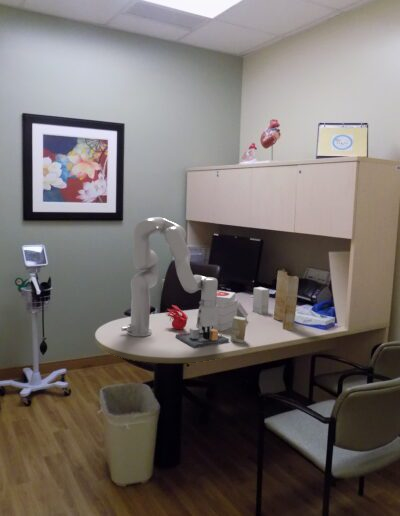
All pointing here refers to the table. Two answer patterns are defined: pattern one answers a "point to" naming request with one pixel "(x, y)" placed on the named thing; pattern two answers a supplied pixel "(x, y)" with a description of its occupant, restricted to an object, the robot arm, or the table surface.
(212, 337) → the orange slider
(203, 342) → the panel
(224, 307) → the pizza boxes
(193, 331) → the grey slider
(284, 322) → the parchment
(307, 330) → the table surface
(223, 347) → the table surface
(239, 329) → the skincare box
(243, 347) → the table surface
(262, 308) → the skincare box
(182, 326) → the heart organ
